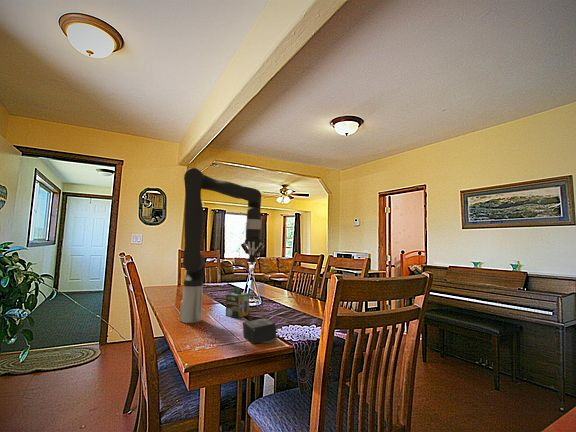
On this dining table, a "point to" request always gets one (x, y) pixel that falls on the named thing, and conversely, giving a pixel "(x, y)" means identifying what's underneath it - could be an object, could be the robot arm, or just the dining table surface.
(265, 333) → the small box
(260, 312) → the dining table surface
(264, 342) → the felt mat
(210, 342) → the dining table surface
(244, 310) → the chalk box
